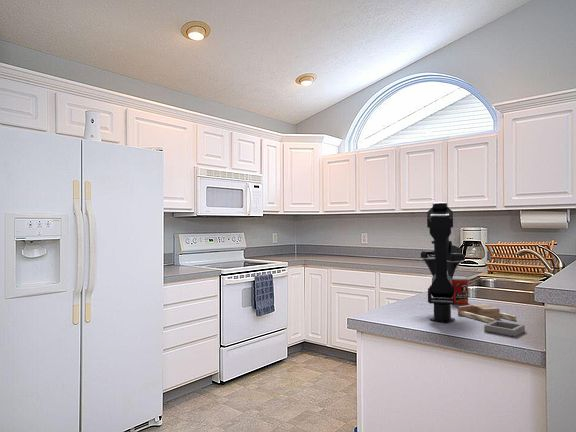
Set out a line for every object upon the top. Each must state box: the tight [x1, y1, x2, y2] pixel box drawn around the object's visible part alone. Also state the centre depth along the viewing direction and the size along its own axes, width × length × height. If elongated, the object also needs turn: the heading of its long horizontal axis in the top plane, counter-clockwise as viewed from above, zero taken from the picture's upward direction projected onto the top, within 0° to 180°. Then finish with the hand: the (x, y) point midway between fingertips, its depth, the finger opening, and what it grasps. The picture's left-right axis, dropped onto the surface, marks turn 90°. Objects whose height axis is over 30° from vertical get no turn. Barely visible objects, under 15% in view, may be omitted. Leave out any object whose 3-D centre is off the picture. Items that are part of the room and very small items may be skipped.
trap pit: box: [483, 319, 526, 338], centre depth 132 cm, size 9×9×2 cm
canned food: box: [450, 275, 469, 305], centre depth 178 cm, size 8×8×11 cm
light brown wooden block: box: [470, 303, 501, 320], centre depth 152 cm, size 8×6×4 cm
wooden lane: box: [457, 303, 517, 324], centre depth 151 cm, size 16×11×3 cm
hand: (442, 277), depth 165 cm, fingers open, 9 cm apart
